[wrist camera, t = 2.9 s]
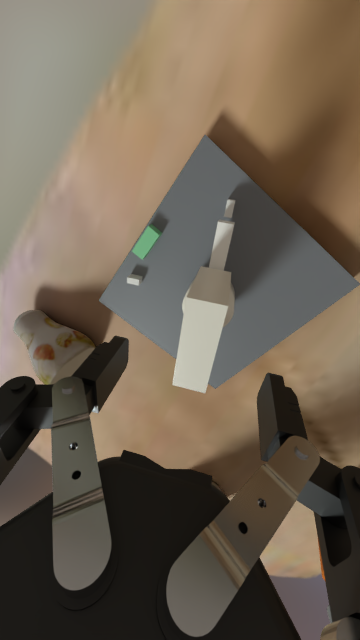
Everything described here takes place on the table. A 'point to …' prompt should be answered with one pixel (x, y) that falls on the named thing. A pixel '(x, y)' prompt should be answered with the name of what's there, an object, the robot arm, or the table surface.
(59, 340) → the mug
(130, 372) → the table surface
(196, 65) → the table surface
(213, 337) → the peg knob
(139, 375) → the table surface
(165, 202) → the dial board
